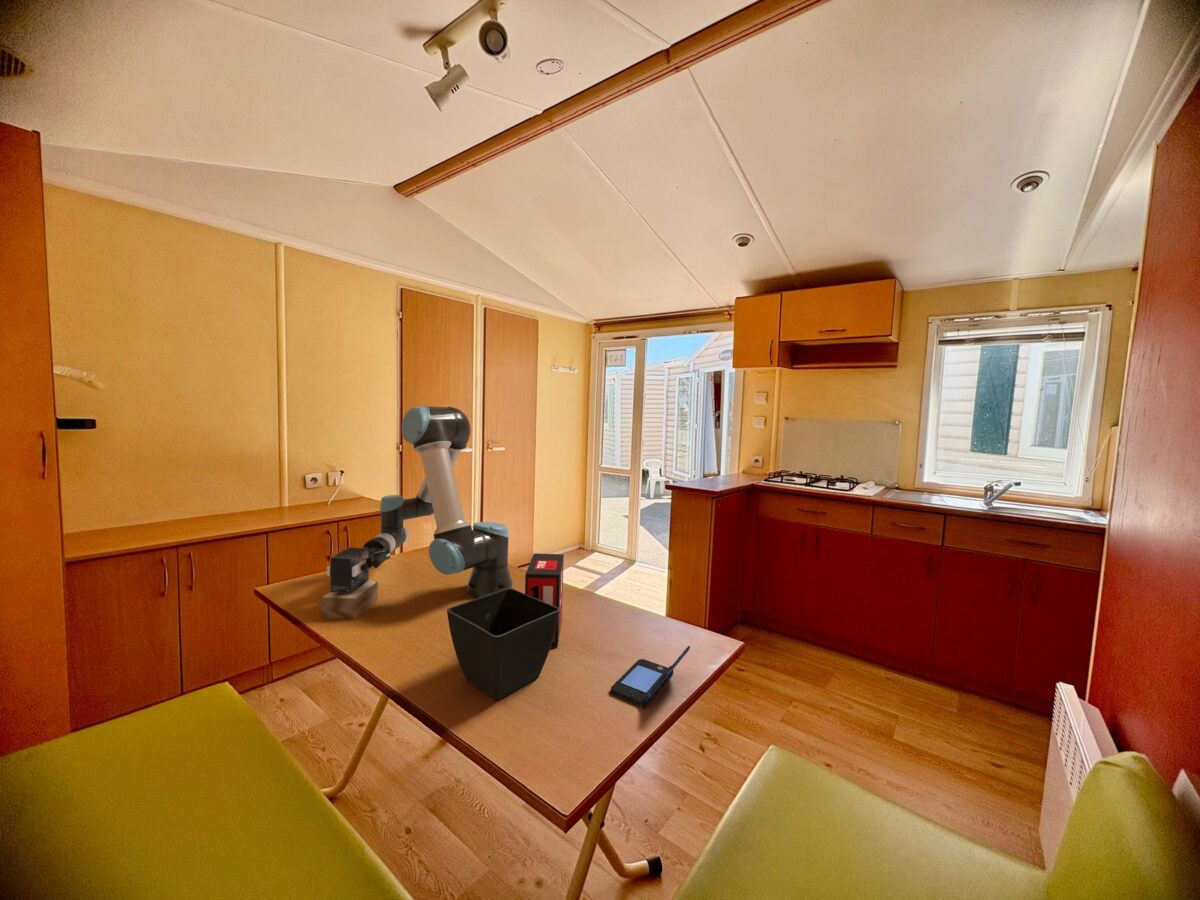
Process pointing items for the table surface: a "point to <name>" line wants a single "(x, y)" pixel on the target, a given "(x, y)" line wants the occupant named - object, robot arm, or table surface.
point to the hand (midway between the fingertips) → (340, 571)
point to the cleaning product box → (547, 583)
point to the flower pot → (502, 639)
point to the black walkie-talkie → (643, 681)
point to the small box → (347, 570)
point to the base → (349, 602)
